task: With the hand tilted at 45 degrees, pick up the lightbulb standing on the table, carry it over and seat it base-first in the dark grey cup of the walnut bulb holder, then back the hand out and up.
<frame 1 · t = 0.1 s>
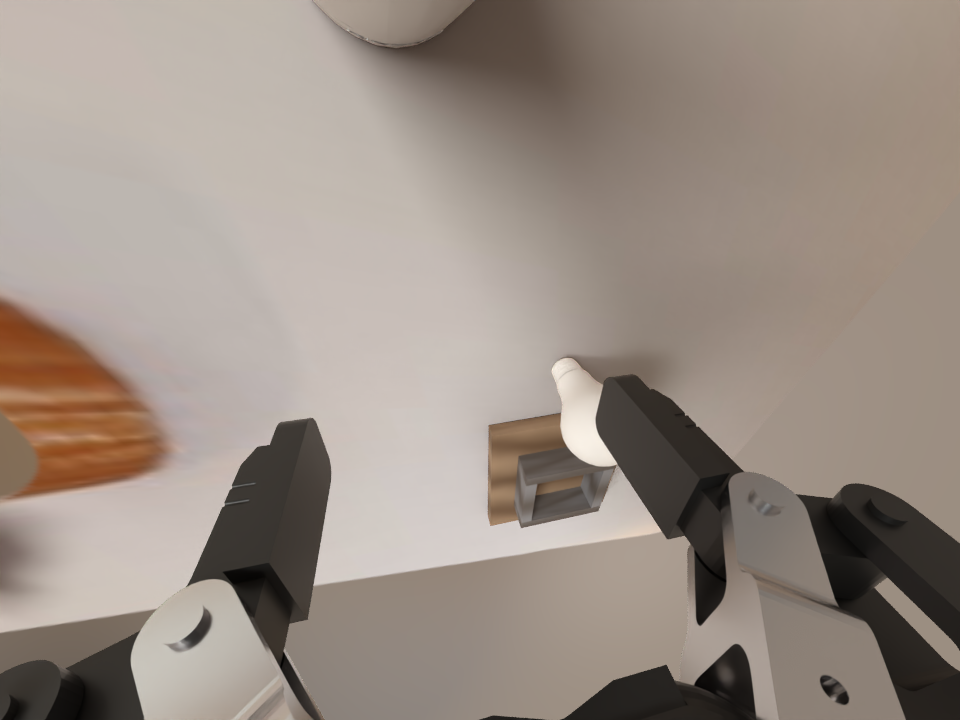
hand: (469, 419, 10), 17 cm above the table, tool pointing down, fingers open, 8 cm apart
lightbulb: (560, 362, 34), on the table
bulb holder: (551, 463, 44), on the table
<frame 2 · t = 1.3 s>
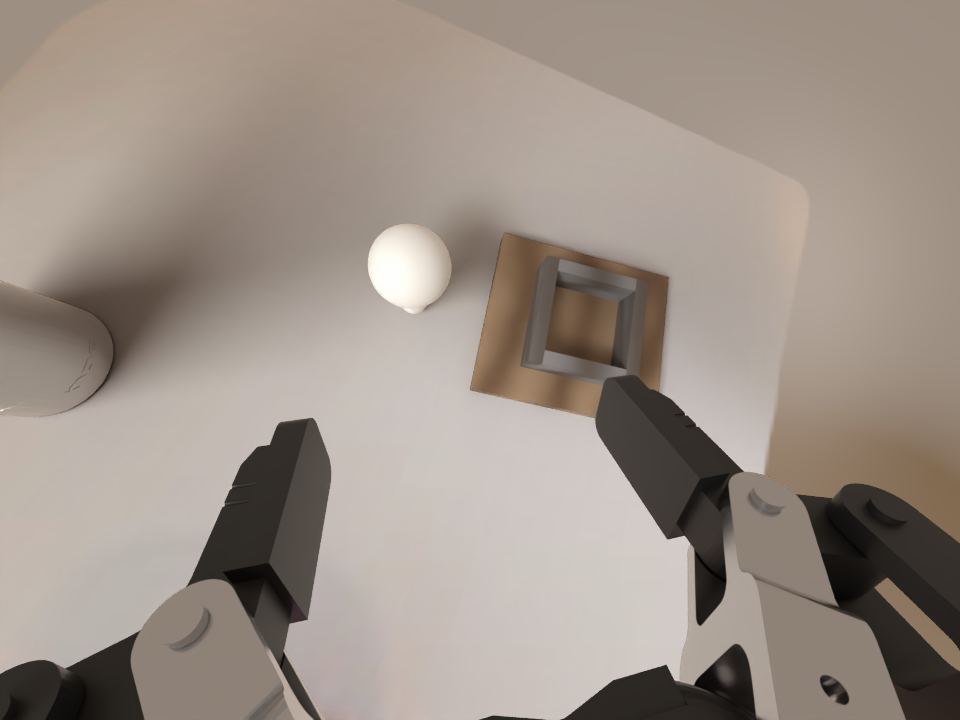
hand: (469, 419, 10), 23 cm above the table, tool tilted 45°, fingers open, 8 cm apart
lightbulb: (414, 304, 34), on the table
bulb holder: (571, 332, 36), on the table
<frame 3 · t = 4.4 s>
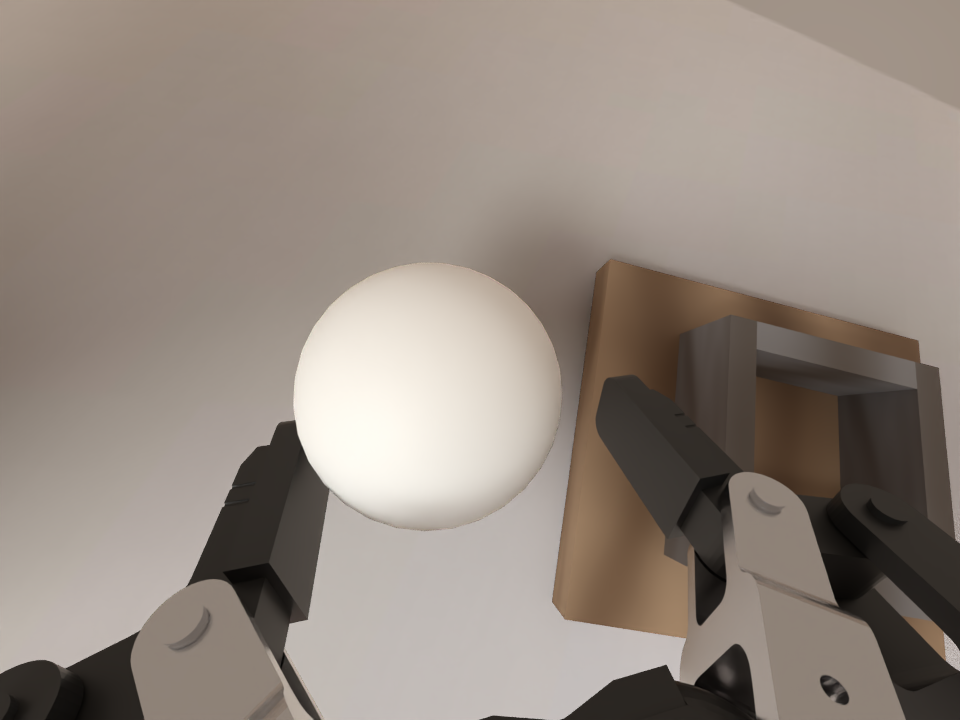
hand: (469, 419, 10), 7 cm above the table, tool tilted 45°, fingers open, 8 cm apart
lightbulb: (430, 411, 17), on the table
bulb holder: (742, 455, 18), on the table
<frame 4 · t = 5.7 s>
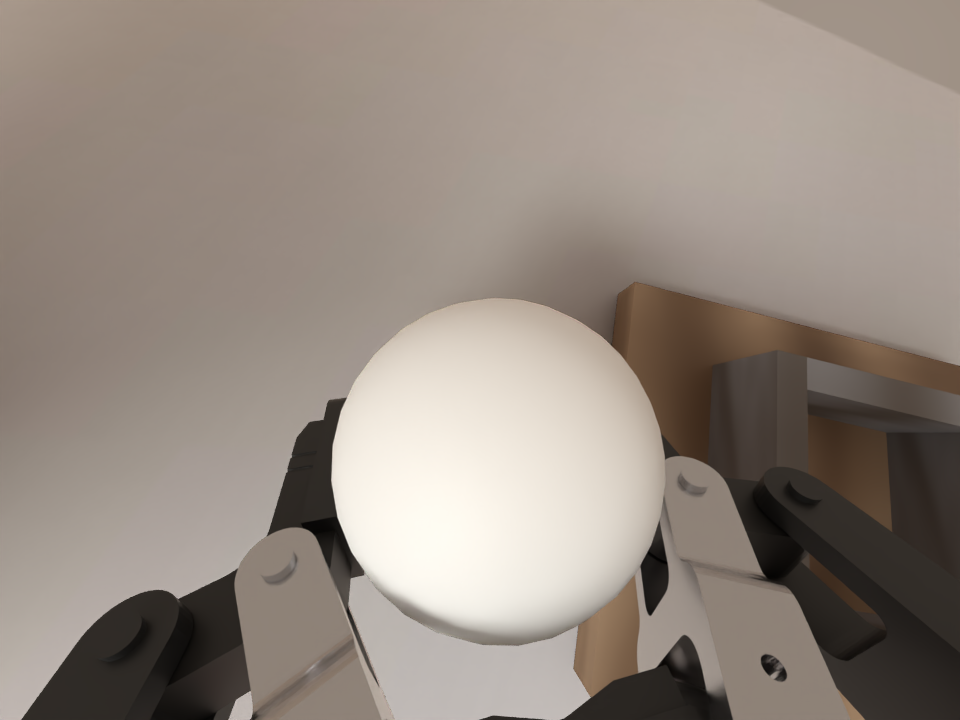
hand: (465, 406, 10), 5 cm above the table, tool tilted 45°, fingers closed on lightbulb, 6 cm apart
lightbulb: (436, 452, 15), on the table, touching gripper
bulb holder: (780, 497, 16), on the table
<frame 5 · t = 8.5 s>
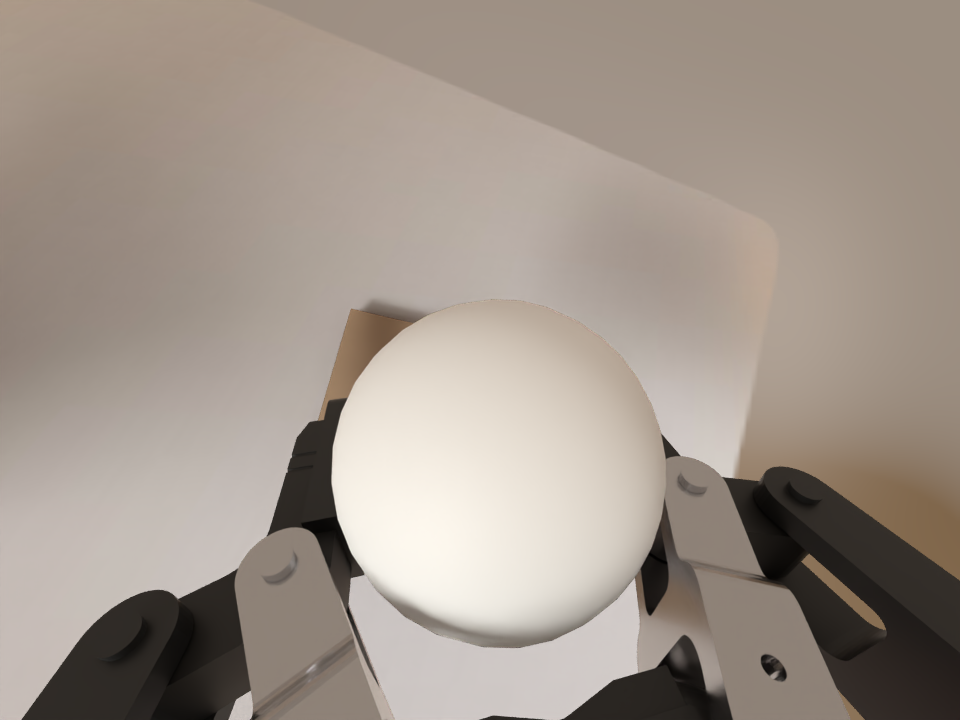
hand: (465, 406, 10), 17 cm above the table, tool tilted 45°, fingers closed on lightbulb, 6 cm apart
lightbulb: (437, 452, 15), point 12 cm above the table, touching gripper
bulb holder: (446, 441, 27), on the table
when the fingers open (7 cm above the table, at t = 11.3 s): lightbulb stays where it is, resting on bulb holder.
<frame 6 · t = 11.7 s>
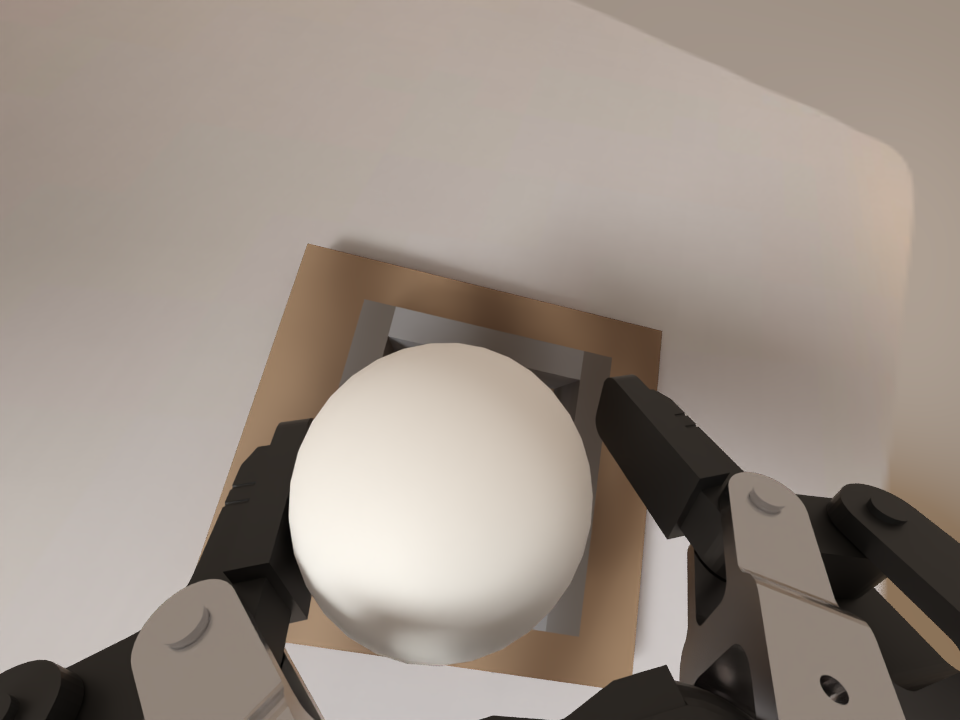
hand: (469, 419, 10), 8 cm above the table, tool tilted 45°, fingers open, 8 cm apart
lightbulb: (435, 456, 16), point 1 cm above the table, touching bulb holder, gripper
bulb holder: (457, 452, 17), on the table
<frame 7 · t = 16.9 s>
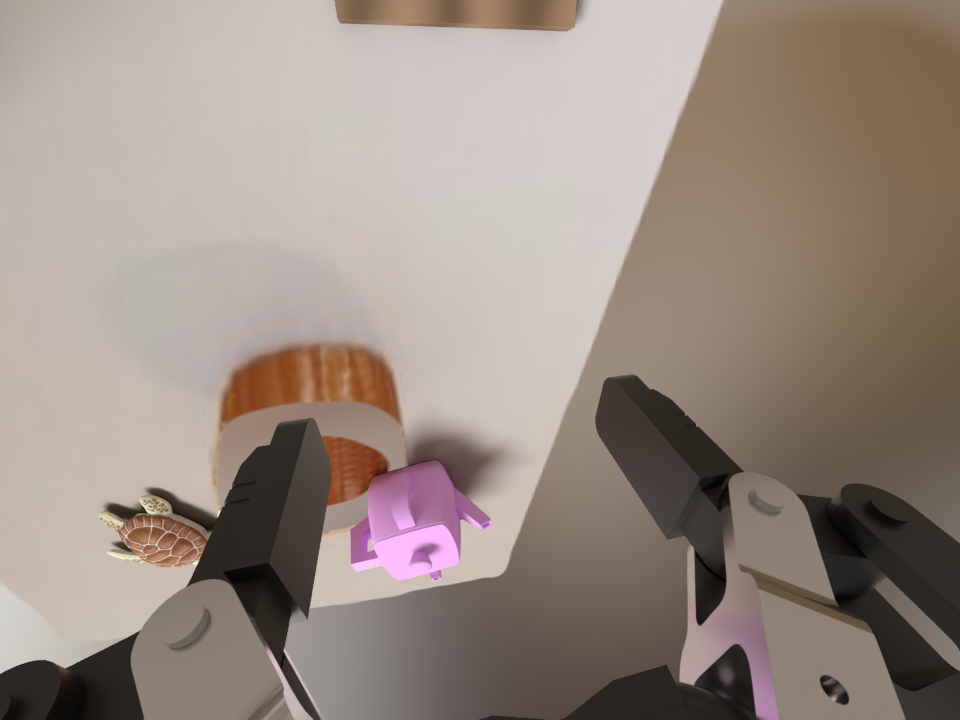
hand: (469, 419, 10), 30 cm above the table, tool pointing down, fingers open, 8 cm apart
teakettle: (419, 491, 59), on the table
decorative turtle: (178, 524, 52), on the table
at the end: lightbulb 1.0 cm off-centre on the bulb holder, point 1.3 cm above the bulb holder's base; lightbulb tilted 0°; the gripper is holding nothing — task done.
